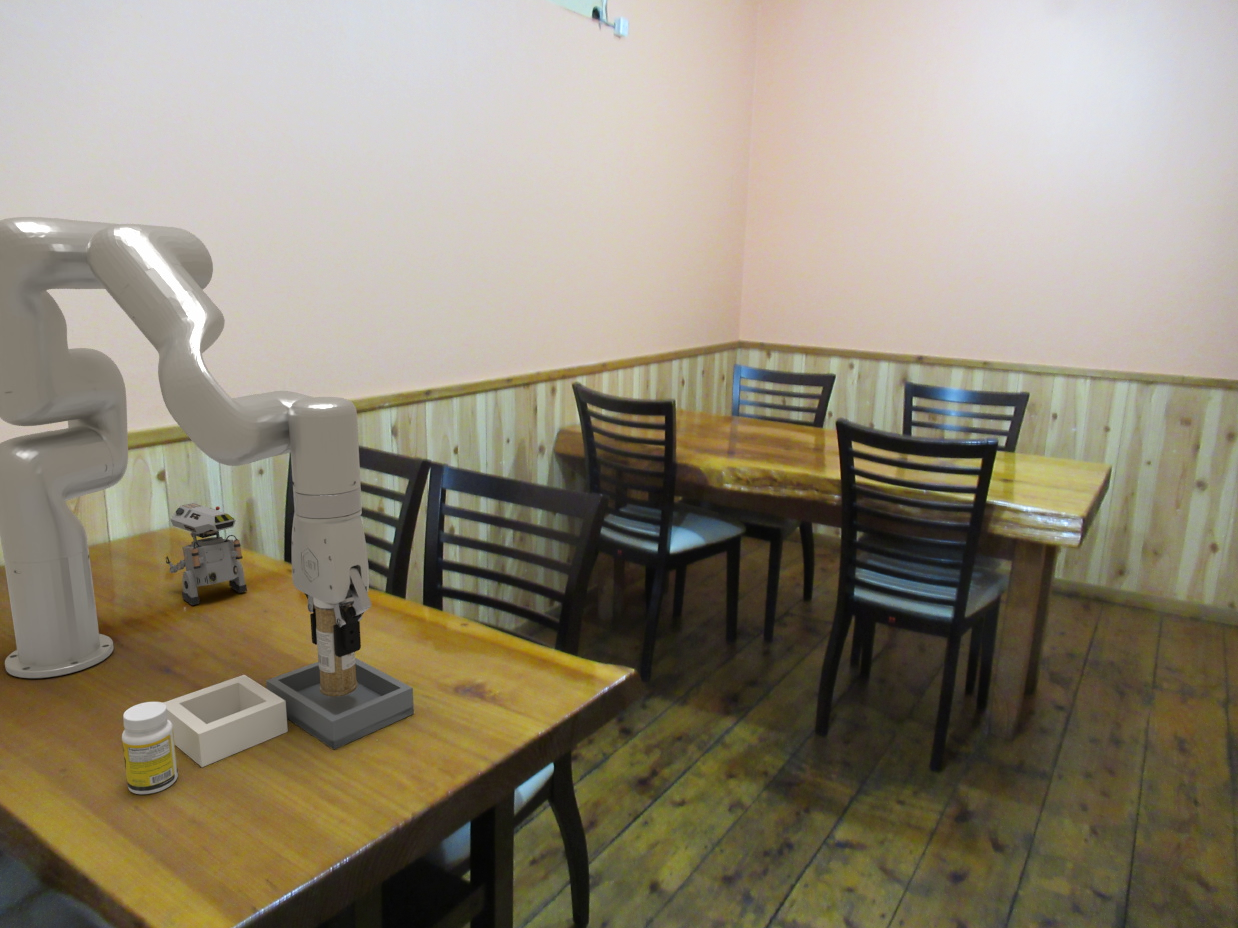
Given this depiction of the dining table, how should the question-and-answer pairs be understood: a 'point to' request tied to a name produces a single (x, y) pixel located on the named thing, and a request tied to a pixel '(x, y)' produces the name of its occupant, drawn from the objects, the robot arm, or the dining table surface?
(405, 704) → the charcoal tray
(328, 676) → the sprinkles bottle
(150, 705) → the supplement bottle
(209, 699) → the frame
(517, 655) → the dining table surface
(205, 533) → the figurine
